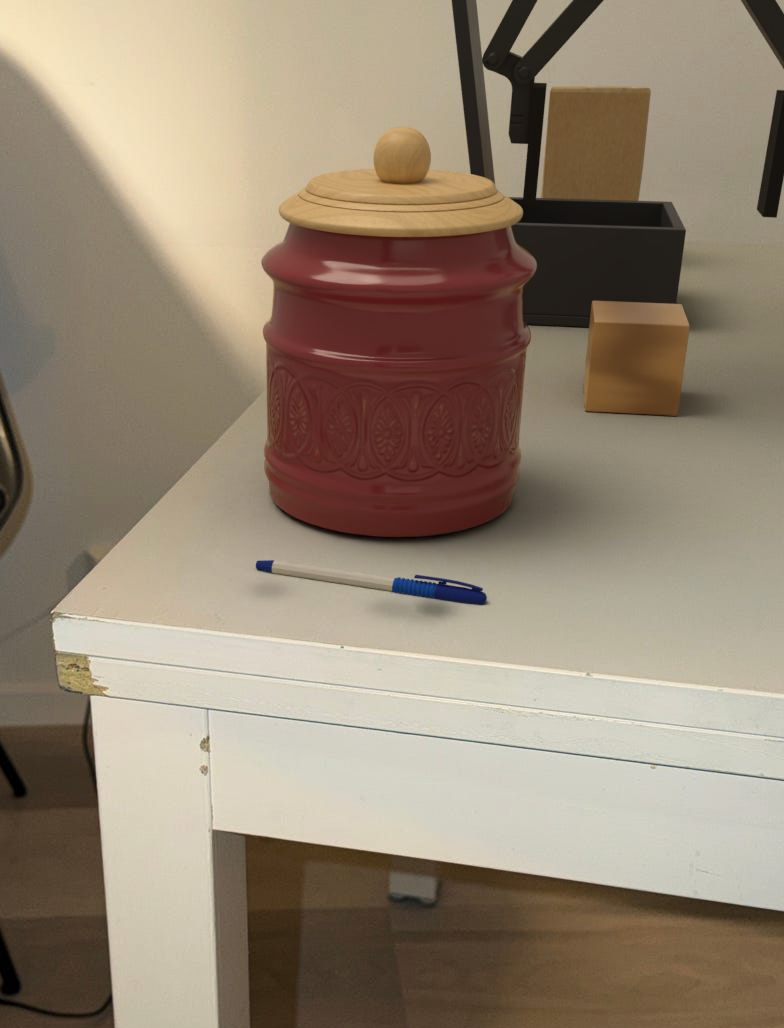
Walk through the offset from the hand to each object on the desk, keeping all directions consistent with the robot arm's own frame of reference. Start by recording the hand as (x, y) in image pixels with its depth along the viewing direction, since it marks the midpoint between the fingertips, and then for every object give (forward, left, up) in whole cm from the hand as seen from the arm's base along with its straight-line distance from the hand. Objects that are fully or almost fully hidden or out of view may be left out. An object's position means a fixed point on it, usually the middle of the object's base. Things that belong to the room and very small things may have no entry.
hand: (646, 209), depth 77 cm
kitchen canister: (-4, +22, -12) cm, 26 cm away
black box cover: (+25, -10, +4) cm, 27 cm away
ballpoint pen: (-12, +30, -12) cm, 35 cm away
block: (0, 0, -11) cm, 11 cm away
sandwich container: (+35, -34, -12) cm, 50 cm away
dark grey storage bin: (+19, -15, -11) cm, 27 cm away
